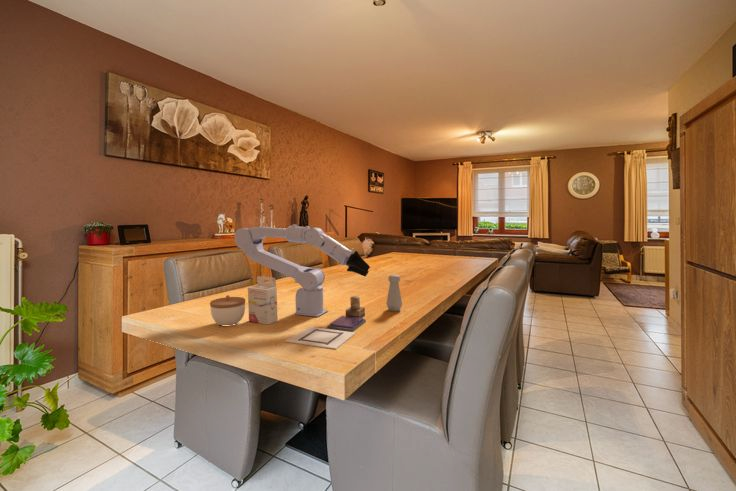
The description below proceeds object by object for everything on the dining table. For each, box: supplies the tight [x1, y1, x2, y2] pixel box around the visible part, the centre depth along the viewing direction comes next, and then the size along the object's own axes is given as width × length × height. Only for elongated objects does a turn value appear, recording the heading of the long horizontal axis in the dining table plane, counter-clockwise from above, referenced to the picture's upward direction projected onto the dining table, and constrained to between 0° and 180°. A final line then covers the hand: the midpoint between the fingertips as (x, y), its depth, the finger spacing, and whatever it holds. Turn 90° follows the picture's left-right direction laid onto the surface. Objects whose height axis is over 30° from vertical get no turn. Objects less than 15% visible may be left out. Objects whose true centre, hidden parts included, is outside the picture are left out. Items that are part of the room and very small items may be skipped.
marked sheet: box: [284, 326, 357, 350], centre depth 101 cm, size 16×13×1 cm
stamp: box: [345, 295, 366, 318], centre depth 121 cm, size 5×5×7 cm
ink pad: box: [326, 315, 367, 332], centre depth 113 cm, size 9×10×1 cm
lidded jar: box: [209, 295, 246, 326], centre depth 115 cm, size 11×11×9 cm
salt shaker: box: [386, 274, 403, 312], centre depth 129 cm, size 6×6×13 cm
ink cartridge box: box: [247, 276, 278, 326], centre depth 117 cm, size 9×5×15 cm, turn 65°
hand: (367, 271), depth 121 cm, fingers open, 7 cm apart
